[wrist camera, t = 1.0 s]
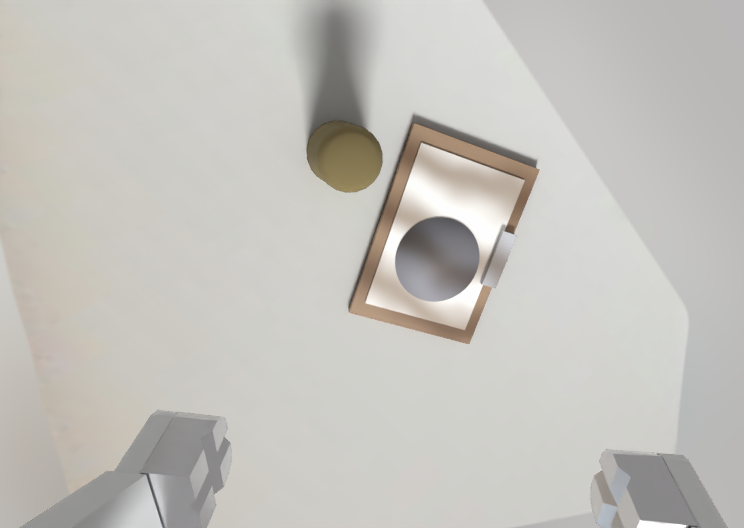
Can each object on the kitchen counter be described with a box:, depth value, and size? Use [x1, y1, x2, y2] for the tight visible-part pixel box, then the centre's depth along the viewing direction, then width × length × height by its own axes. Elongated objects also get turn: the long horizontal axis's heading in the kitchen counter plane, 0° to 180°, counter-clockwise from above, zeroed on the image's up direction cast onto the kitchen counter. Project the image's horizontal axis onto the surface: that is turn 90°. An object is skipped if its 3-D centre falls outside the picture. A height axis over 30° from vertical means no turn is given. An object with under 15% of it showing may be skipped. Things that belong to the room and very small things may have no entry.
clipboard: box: [349, 123, 539, 344], centre depth 50 cm, size 20×14×2 cm
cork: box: [307, 121, 382, 192], centre depth 42 cm, size 6×6×11 cm
